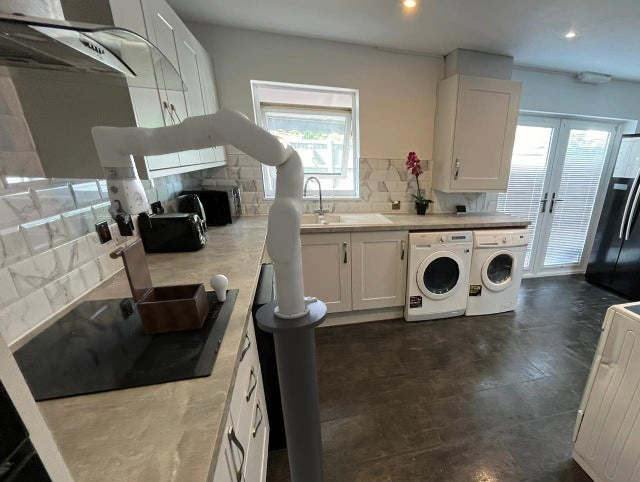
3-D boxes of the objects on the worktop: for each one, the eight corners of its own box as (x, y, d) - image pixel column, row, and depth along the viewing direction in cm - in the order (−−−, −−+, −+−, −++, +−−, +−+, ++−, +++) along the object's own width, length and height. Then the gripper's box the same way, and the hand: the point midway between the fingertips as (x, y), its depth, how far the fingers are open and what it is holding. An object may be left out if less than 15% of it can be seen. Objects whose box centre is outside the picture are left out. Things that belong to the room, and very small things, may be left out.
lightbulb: (232, 297, 129) (228, 271, 125) (230, 303, 124) (225, 277, 119) (215, 298, 127) (210, 272, 123) (212, 305, 122) (206, 278, 118)
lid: (141, 238, 103) (121, 239, 102) (123, 251, 91) (100, 251, 90) (152, 285, 109) (134, 286, 108) (137, 302, 98) (116, 304, 96)
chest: (209, 310, 119) (203, 283, 114) (201, 328, 107) (194, 299, 103) (159, 314, 114) (151, 286, 110) (145, 334, 102) (136, 304, 98)
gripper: (115, 176, 86) (133, 239, 92) (151, 172, 101) (165, 225, 108) (83, 176, 84) (104, 239, 91) (125, 171, 100) (140, 225, 107)
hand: (137, 232), depth 100 cm, fingers open, 9 cm apart
